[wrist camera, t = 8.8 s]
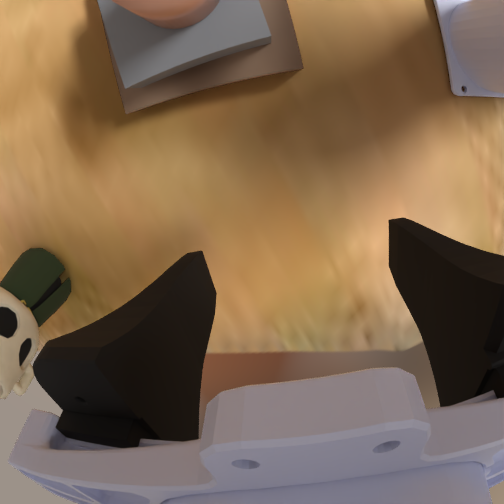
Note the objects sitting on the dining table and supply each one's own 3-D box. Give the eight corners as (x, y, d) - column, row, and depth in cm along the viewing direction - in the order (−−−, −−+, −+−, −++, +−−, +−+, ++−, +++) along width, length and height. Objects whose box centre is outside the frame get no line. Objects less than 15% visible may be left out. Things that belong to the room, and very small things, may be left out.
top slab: (230, -62, 11) (225, -79, 9) (270, 42, 15) (271, 35, 13) (109, -14, 13) (91, -23, 11) (142, 87, 16) (125, 88, 14)
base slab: (261, -65, 13) (260, -80, 10) (299, 70, 18) (303, 68, 16) (109, -18, 14) (93, -26, 12) (140, 110, 19) (125, 114, 17)
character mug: (96, 315, 28) (38, 422, 17) (48, 316, 29) (-10, 406, 18) (51, 214, 23) (-50, 308, 12) (5, 228, 24) (-82, 307, 13)
